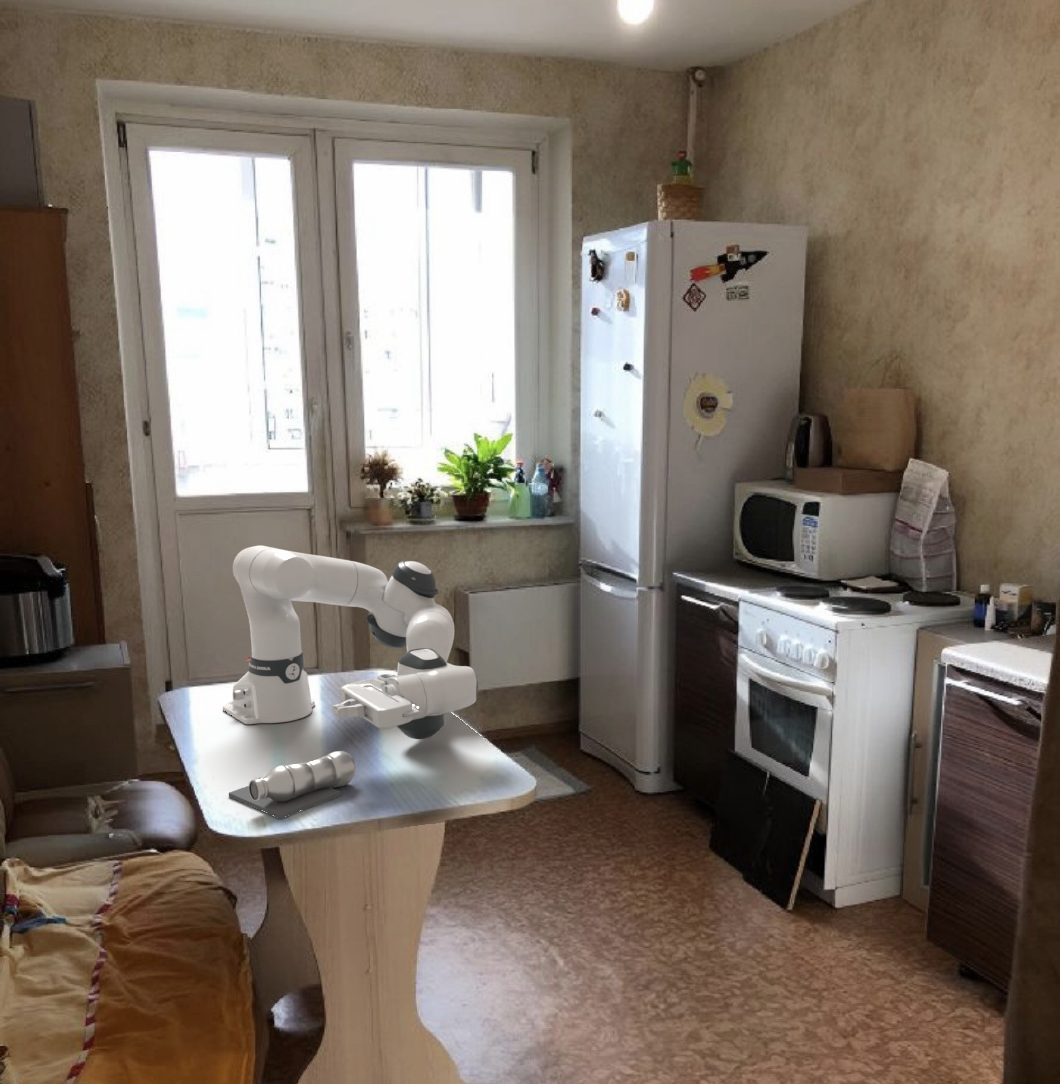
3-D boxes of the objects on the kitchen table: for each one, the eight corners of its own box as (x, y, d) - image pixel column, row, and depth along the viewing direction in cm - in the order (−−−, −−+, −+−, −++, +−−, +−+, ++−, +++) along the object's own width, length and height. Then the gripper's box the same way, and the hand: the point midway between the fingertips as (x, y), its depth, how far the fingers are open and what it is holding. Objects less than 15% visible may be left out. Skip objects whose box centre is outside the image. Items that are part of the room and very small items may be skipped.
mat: (228, 796, 180) (228, 792, 180) (288, 775, 190) (288, 771, 189) (280, 819, 169) (280, 815, 169) (340, 795, 179) (340, 791, 179)
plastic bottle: (344, 741, 186) (248, 764, 172) (363, 762, 182) (266, 787, 168) (337, 768, 189) (241, 793, 175) (355, 790, 184) (259, 817, 171)
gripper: (427, 728, 182) (357, 743, 175) (382, 701, 200) (317, 714, 192) (425, 695, 181) (355, 709, 174) (381, 671, 199) (315, 683, 191)
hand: (335, 711), depth 183 cm, fingers closed
